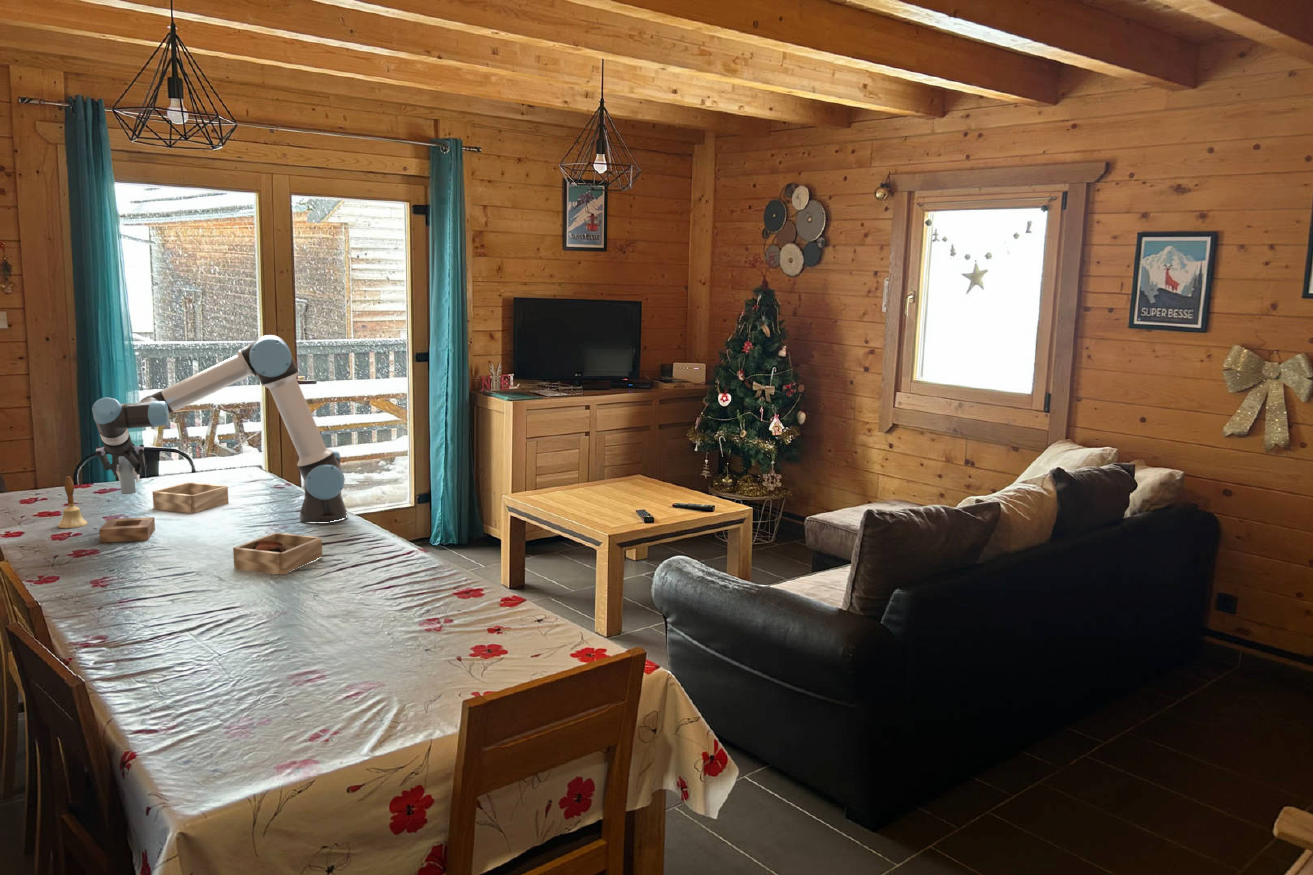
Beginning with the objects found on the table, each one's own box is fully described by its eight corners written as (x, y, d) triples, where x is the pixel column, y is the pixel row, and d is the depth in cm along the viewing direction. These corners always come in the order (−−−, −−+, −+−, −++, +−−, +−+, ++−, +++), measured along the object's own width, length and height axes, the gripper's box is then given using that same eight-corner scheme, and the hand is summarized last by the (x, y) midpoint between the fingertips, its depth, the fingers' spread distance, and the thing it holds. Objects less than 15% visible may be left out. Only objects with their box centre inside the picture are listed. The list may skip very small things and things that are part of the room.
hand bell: (77, 528, 306) (73, 479, 304) (51, 527, 306) (47, 478, 304) (93, 522, 314) (89, 474, 312) (68, 521, 314) (64, 473, 312)
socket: (155, 529, 308) (154, 517, 307) (148, 539, 295) (147, 527, 295) (109, 531, 303) (108, 519, 303) (100, 542, 291) (99, 529, 291)
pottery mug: (241, 570, 270) (244, 541, 273) (266, 576, 278) (268, 549, 281) (274, 564, 265) (277, 535, 268) (299, 571, 274) (301, 543, 277)
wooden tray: (229, 502, 345) (228, 486, 344) (193, 513, 329) (193, 496, 328) (189, 498, 350) (188, 482, 349) (152, 508, 334) (151, 491, 333)
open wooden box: (323, 557, 282) (323, 537, 281) (282, 575, 264) (282, 554, 263) (275, 551, 286) (275, 532, 285) (232, 569, 269) (231, 548, 268)
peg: (138, 491, 310) (135, 455, 308) (128, 494, 306) (125, 457, 304) (128, 491, 311) (125, 454, 309) (118, 493, 307) (115, 456, 305)
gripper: (82, 447, 288) (99, 490, 307) (145, 445, 294) (158, 487, 312) (85, 427, 293) (101, 470, 311) (147, 425, 298) (159, 468, 316)
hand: (129, 478), depth 311 cm, fingers closed on peg, 4 cm apart
